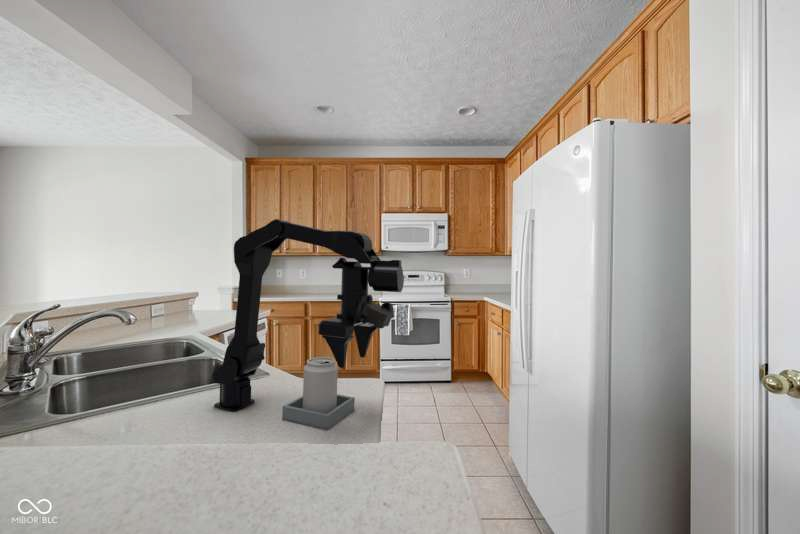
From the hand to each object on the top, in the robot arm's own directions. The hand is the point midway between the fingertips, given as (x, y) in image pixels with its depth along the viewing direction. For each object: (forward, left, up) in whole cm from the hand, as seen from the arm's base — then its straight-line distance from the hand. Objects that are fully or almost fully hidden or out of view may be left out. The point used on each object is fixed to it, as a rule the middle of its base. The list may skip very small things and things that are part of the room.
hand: (352, 362), depth 80 cm
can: (-8, 0, -13) cm, 15 cm away
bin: (-8, 0, -13) cm, 15 cm away
